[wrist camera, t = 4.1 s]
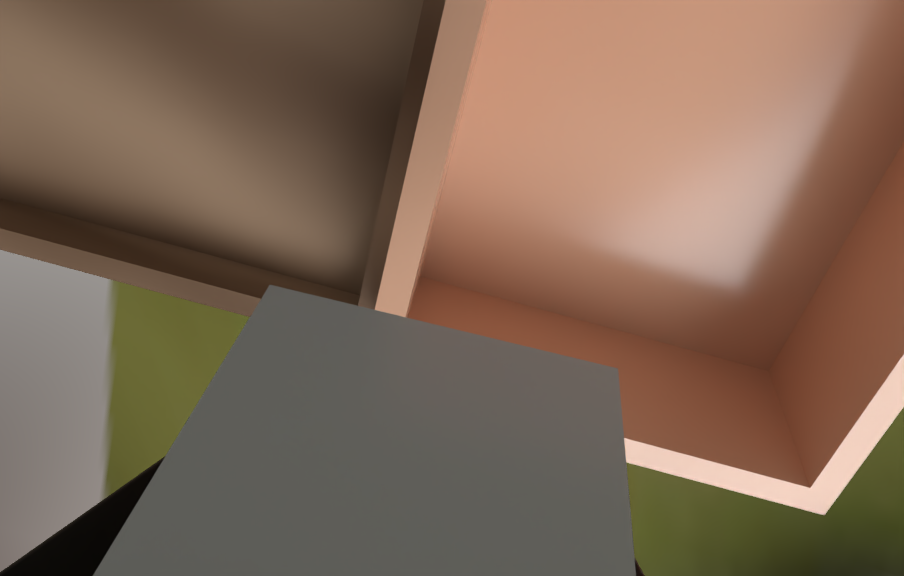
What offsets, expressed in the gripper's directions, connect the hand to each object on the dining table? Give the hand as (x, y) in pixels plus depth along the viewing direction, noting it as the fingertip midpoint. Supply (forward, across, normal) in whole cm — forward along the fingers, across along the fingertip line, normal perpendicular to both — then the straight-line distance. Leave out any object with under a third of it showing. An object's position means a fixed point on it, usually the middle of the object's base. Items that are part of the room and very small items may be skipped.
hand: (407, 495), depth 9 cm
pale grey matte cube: (+1, 0, 0) cm, 1 cm away
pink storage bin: (+10, -4, -2) cm, 11 cm away
